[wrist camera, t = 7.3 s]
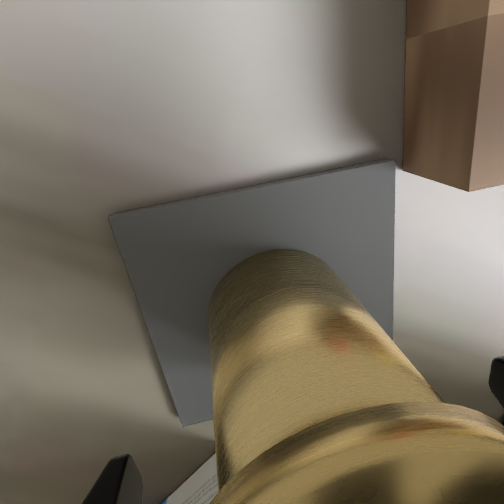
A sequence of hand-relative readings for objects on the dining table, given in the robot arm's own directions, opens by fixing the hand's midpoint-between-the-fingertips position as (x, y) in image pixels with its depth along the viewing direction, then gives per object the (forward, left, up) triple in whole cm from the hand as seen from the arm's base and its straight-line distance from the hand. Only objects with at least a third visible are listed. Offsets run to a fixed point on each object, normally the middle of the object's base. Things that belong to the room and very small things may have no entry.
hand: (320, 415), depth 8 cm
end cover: (0, 0, -4) cm, 5 cm away
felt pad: (0, 0, -5) cm, 5 cm away
